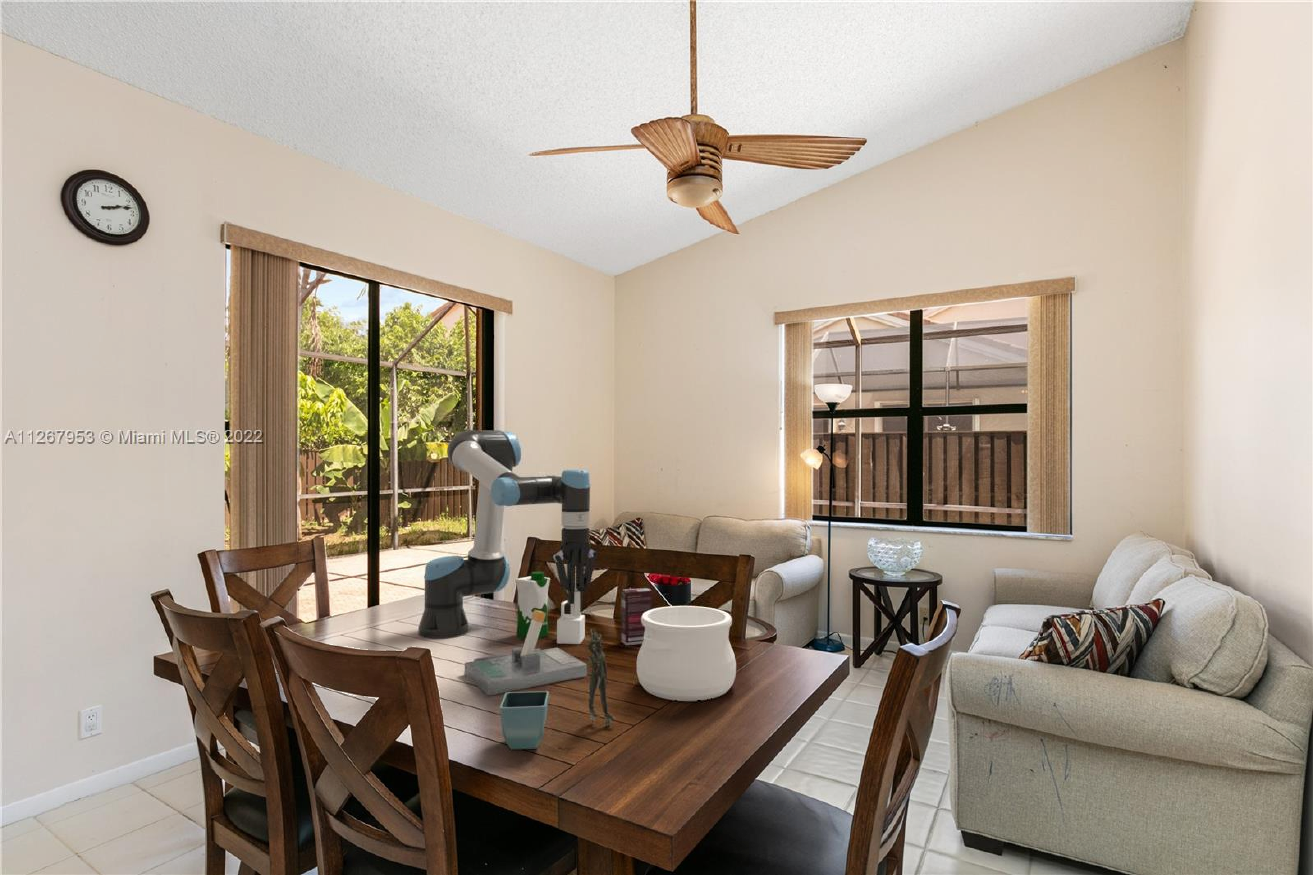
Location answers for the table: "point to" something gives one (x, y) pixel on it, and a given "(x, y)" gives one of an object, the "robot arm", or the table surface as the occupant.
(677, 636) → the pot
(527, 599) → the milk carton
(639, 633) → the supplement box
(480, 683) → the panel
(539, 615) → the lever
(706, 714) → the table surface
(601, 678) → the statue
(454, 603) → the robot arm
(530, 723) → the flower pot
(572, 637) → the medicine bottle
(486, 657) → the cords
